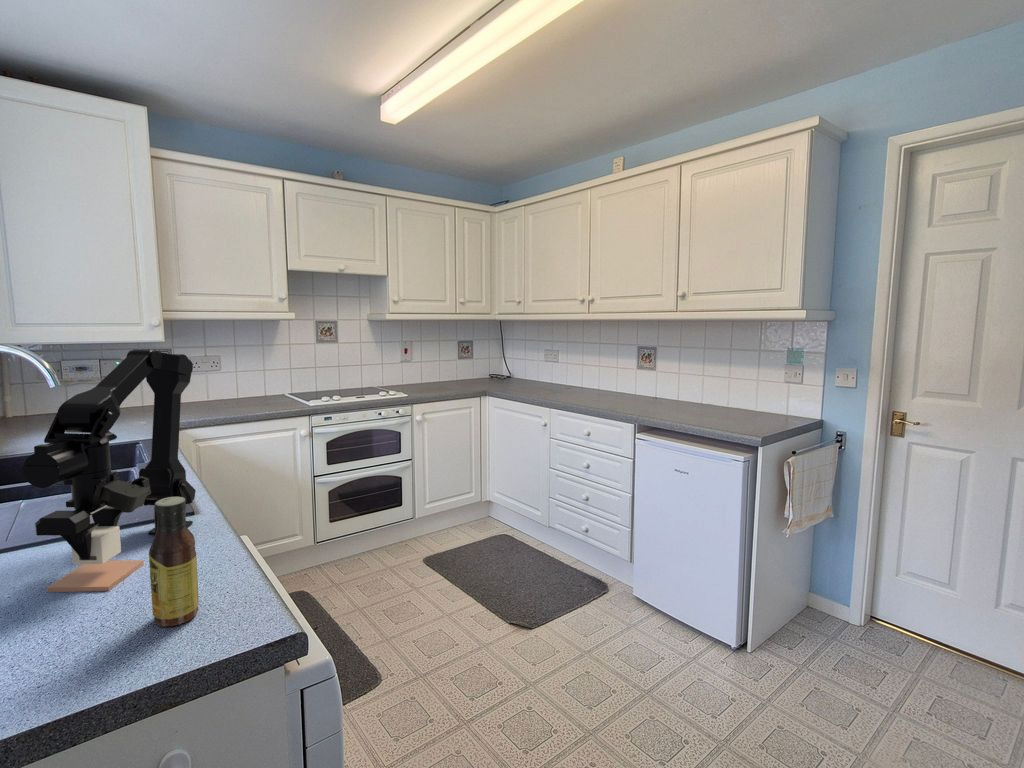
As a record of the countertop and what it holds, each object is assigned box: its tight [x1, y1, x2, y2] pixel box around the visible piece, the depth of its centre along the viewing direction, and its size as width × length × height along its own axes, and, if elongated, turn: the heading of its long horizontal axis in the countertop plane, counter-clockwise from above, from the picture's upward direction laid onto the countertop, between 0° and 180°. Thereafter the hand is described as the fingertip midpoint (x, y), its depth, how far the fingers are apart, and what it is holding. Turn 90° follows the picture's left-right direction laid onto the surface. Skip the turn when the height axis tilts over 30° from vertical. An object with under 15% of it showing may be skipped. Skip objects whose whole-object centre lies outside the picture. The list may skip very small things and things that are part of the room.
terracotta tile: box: [46, 559, 144, 593], centre depth 96 cm, size 10×10×1 cm
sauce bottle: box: [148, 497, 199, 628], centre depth 82 cm, size 6×6×20 cm
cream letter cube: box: [70, 525, 122, 565], centre depth 95 cm, size 5×5×5 cm
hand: (96, 552), depth 95 cm, fingers closed on cream letter cube, 5 cm apart
